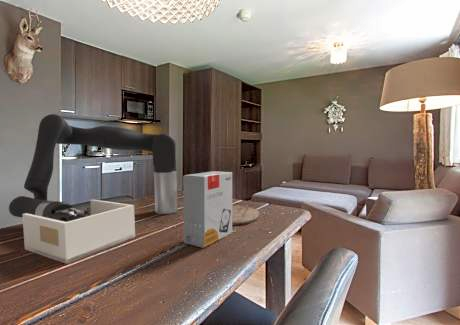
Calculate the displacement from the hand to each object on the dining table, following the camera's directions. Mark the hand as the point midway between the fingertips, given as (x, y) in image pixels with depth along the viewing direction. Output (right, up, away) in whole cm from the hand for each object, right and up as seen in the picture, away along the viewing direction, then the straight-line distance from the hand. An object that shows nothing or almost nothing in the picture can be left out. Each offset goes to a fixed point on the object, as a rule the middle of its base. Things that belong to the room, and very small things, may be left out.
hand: (88, 219), depth 75 cm
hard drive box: (+35, -7, +5) cm, 36 cm away
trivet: (+40, -6, +28) cm, 49 cm away
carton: (-3, -7, +2) cm, 8 cm away
